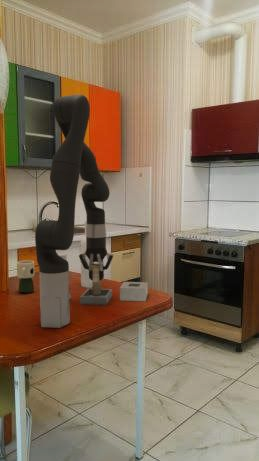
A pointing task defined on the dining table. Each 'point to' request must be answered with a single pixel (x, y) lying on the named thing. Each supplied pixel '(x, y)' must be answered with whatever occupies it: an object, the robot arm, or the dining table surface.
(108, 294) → the tray
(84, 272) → the bottle
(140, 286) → the hitch block
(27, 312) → the dining table surface
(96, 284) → the pin
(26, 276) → the character mug
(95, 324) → the dining table surface
